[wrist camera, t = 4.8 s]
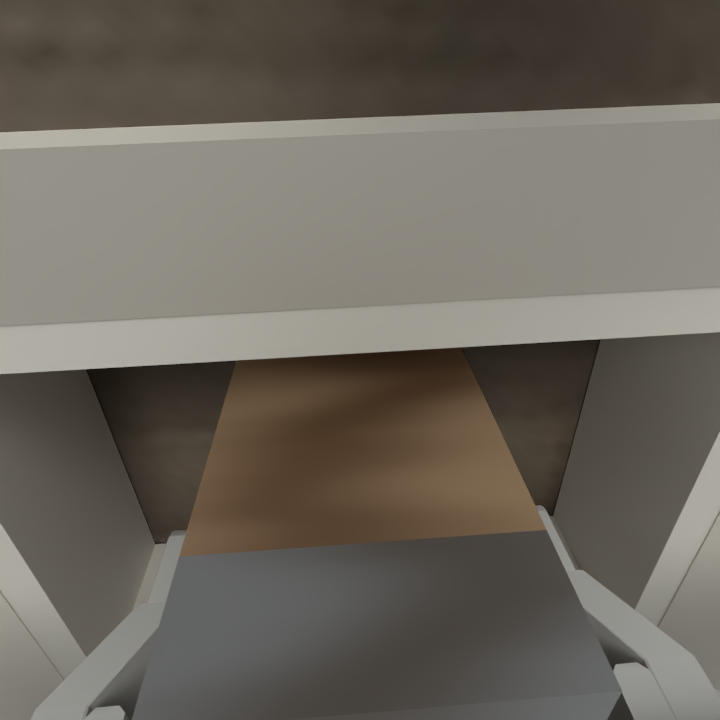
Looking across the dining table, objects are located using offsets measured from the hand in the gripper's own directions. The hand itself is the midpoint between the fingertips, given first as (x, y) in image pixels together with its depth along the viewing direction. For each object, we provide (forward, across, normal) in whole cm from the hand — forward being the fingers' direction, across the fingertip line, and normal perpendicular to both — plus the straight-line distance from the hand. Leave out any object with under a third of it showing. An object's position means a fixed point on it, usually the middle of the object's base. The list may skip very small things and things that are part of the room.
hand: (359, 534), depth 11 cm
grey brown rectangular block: (+4, 0, 0) cm, 4 cm away
